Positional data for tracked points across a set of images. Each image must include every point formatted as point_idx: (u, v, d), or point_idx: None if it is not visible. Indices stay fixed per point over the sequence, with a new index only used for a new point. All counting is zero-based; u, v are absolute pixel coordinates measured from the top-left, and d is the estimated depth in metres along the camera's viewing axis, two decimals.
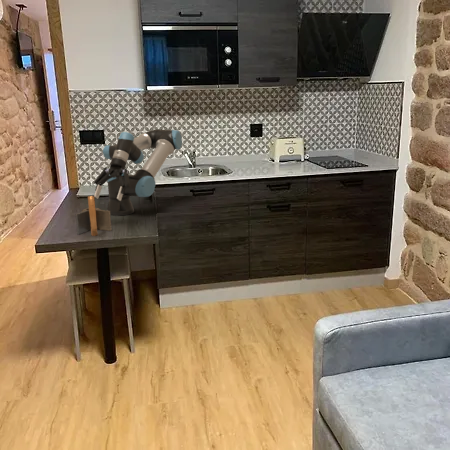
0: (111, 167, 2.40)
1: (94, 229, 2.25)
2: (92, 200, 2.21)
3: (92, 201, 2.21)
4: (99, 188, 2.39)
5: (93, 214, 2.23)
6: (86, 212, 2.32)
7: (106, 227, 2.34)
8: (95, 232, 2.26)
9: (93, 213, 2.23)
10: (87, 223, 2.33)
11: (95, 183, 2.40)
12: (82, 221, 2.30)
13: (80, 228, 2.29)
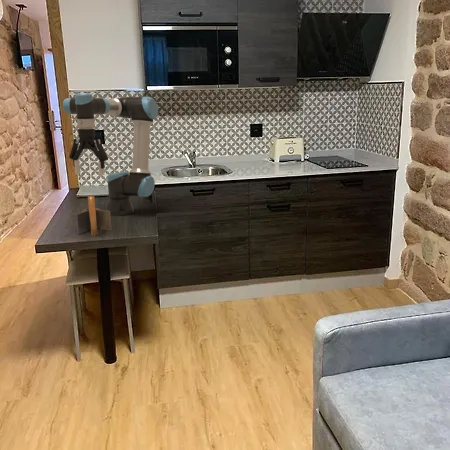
0: (80, 138, 2.15)
1: (94, 229, 2.25)
2: (92, 200, 2.21)
3: (92, 201, 2.21)
4: (77, 163, 2.21)
5: (93, 214, 2.23)
6: (86, 212, 2.32)
7: (106, 227, 2.34)
8: (95, 232, 2.26)
9: (93, 213, 2.23)
10: (87, 223, 2.33)
11: (71, 158, 2.21)
12: (82, 221, 2.30)
13: (80, 228, 2.29)
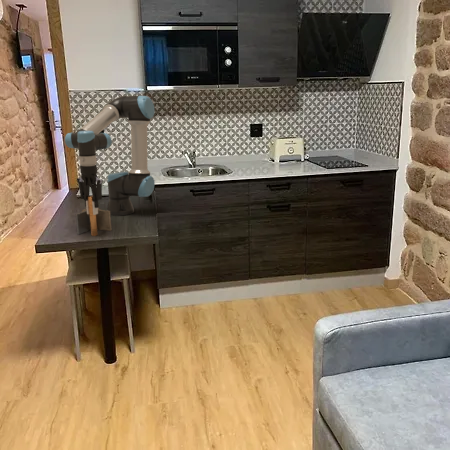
0: None
1: (94, 229, 2.25)
2: (92, 200, 2.21)
3: None
4: None
5: None
6: (86, 212, 2.32)
7: (106, 227, 2.34)
8: (95, 232, 2.26)
9: None
10: (87, 223, 2.33)
11: (82, 198, 2.23)
12: (82, 221, 2.30)
13: (80, 228, 2.29)
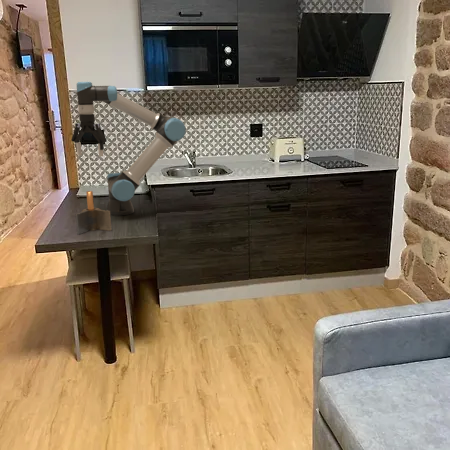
0: (81, 123, 2.39)
1: None
2: (90, 195, 2.32)
3: (90, 196, 2.32)
4: (79, 145, 2.44)
5: (91, 208, 2.34)
6: (86, 212, 2.32)
7: (106, 227, 2.34)
8: None
9: (91, 207, 2.34)
10: (87, 223, 2.33)
11: None
12: (82, 221, 2.30)
13: (80, 228, 2.29)
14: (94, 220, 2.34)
